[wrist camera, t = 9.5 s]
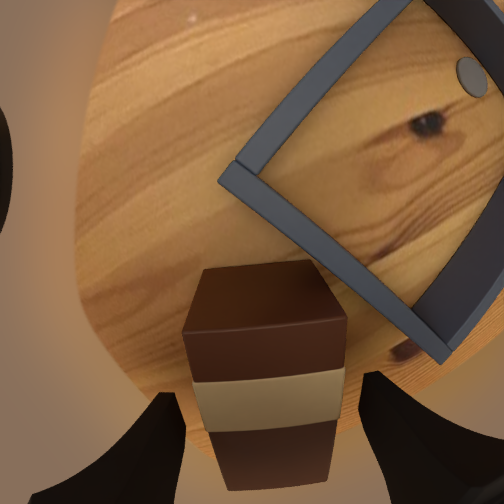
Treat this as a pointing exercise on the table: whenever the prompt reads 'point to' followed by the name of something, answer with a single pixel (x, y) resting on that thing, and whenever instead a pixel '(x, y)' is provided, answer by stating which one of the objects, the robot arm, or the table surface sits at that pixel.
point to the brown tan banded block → (268, 371)
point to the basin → (330, 251)
